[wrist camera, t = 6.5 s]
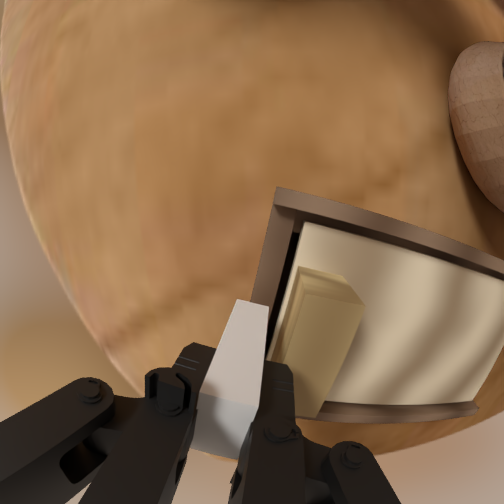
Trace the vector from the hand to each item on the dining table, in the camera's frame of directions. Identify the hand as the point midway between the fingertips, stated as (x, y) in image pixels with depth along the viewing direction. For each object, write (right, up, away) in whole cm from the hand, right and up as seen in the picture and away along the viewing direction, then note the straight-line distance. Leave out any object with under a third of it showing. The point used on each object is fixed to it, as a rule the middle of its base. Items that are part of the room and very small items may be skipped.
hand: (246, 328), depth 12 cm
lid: (+11, -2, +2) cm, 11 cm away
